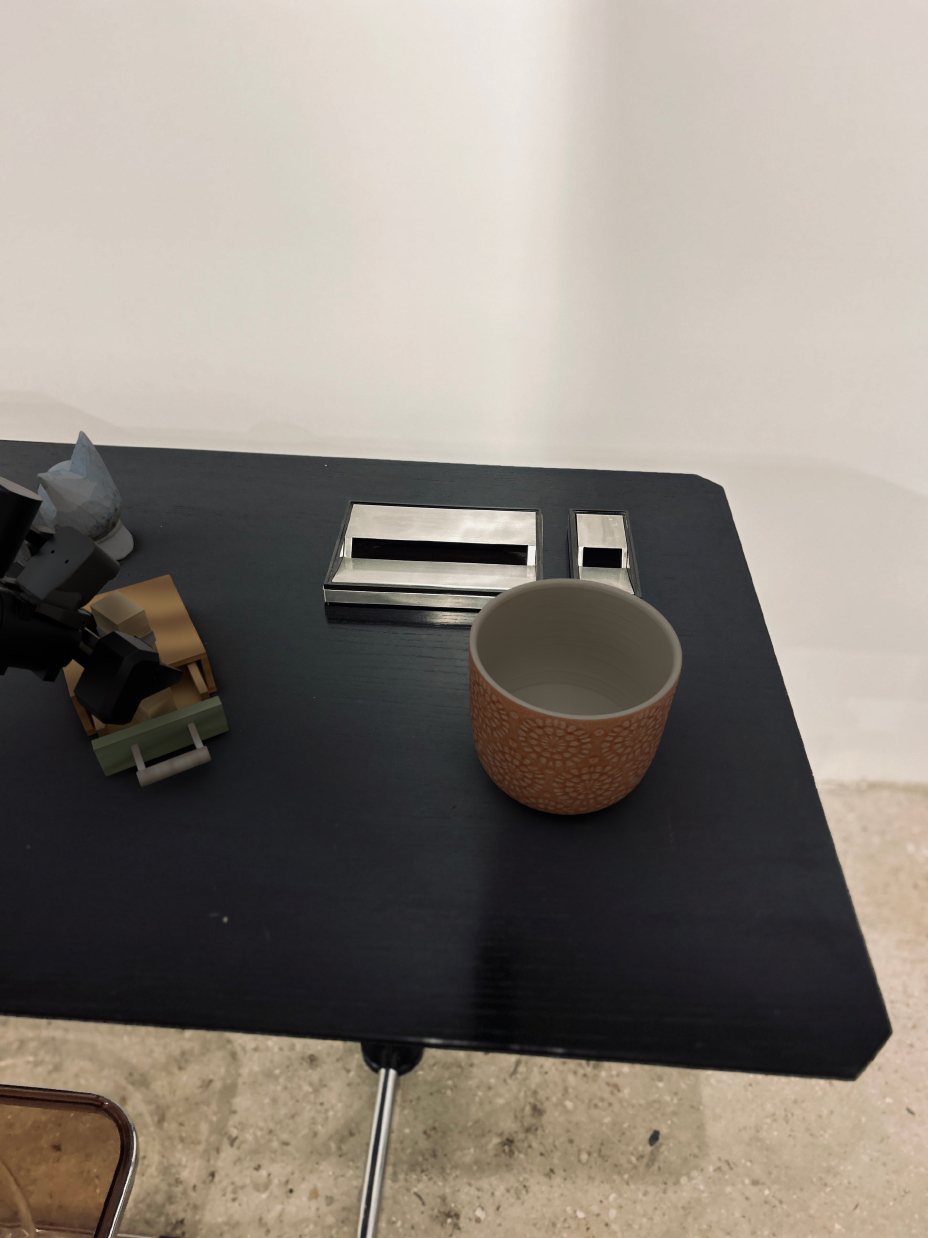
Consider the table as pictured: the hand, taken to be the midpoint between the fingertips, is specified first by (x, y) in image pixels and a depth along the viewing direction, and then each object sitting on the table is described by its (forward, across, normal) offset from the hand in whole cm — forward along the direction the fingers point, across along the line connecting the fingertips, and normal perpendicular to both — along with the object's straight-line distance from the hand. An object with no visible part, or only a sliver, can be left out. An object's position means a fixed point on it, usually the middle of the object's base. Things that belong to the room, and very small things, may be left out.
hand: (148, 654), depth 70 cm
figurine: (+15, +32, -1) cm, 35 cm away
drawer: (+5, 0, +7) cm, 8 cm away
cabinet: (+8, +9, +5) cm, 13 cm away
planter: (+20, -32, -7) cm, 39 cm away
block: (+4, 0, +6) cm, 7 cm away
